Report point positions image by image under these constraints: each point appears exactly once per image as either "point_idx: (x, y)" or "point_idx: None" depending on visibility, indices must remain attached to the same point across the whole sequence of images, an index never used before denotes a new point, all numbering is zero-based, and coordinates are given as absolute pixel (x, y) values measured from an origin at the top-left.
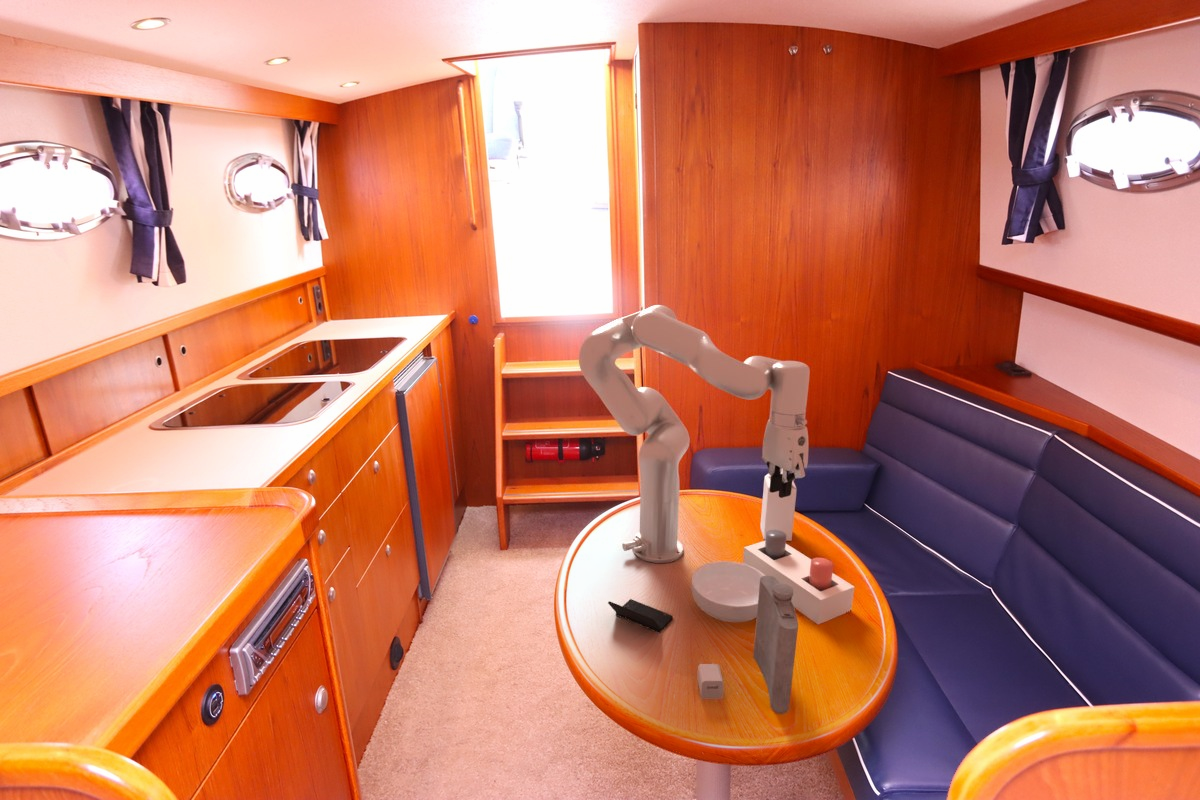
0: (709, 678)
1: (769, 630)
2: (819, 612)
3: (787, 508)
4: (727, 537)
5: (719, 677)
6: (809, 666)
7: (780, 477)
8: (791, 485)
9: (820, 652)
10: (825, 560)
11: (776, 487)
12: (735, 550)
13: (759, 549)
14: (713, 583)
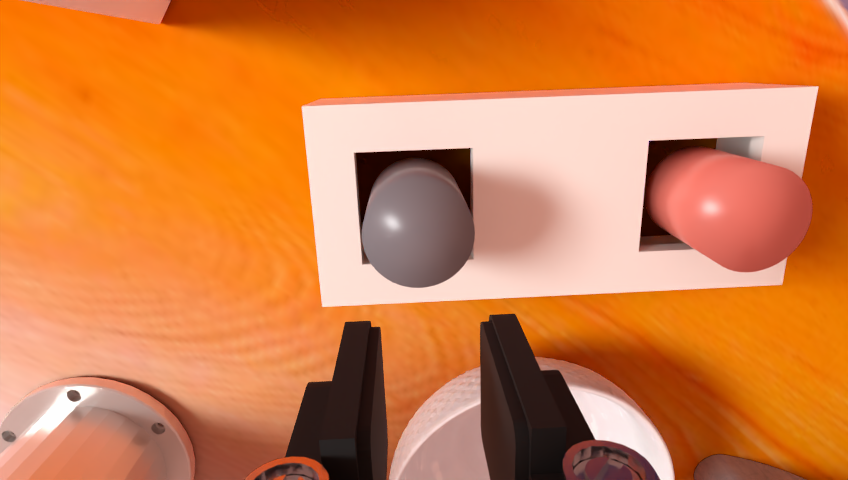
0: None
1: None
2: None
3: None
4: (86, 167)
5: None
6: (815, 391)
7: (375, 463)
8: (586, 425)
9: (801, 329)
10: (751, 184)
11: (382, 421)
12: (200, 203)
13: (361, 250)
14: (415, 454)
